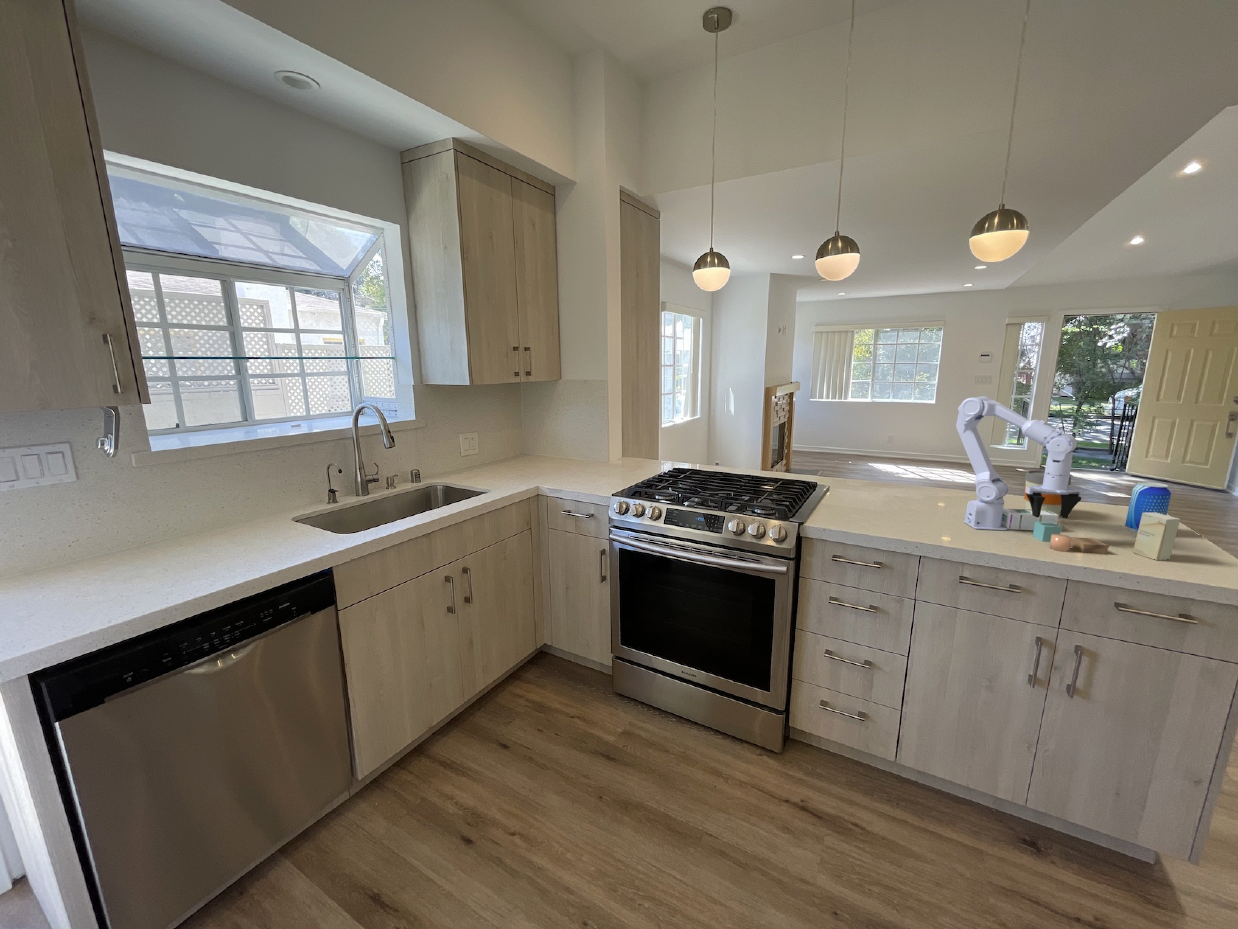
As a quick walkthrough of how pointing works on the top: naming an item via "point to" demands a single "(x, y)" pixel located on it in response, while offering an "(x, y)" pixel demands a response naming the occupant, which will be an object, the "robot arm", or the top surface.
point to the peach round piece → (1060, 542)
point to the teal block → (1045, 531)
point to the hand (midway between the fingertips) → (1049, 516)
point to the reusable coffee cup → (1051, 500)
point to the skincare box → (1156, 535)
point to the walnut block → (1088, 545)
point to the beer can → (1146, 502)
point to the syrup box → (1025, 518)
